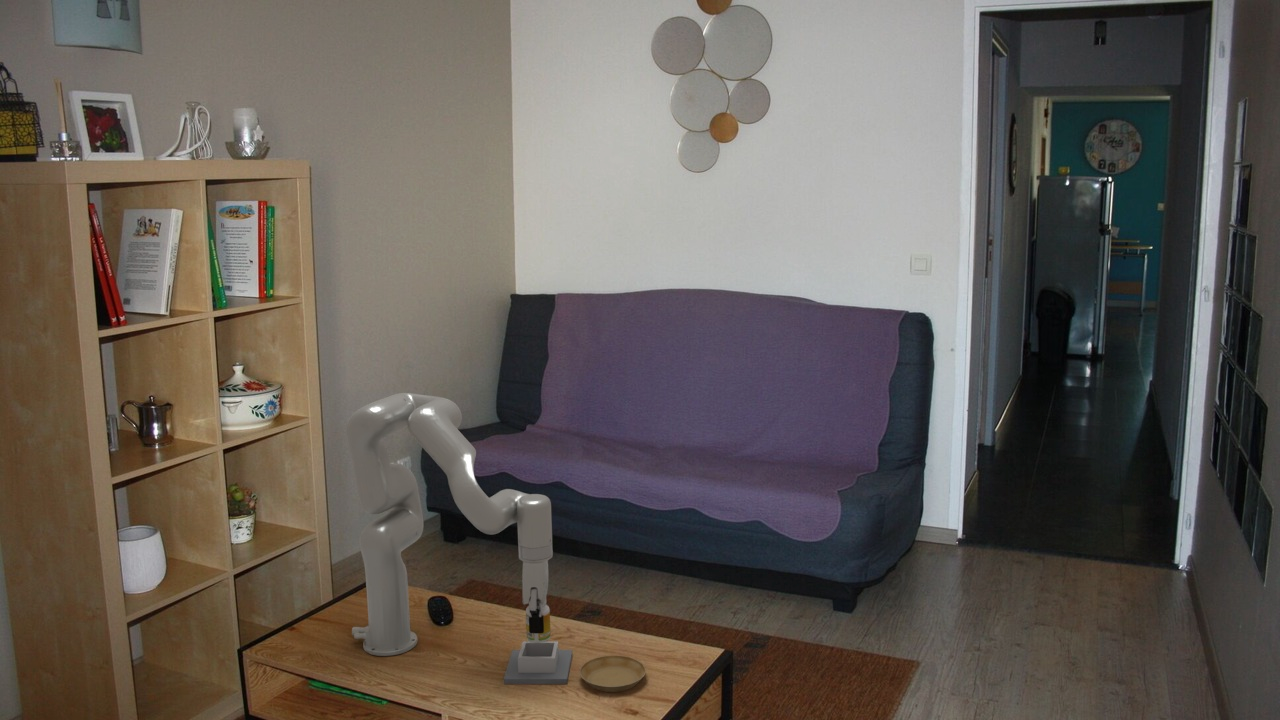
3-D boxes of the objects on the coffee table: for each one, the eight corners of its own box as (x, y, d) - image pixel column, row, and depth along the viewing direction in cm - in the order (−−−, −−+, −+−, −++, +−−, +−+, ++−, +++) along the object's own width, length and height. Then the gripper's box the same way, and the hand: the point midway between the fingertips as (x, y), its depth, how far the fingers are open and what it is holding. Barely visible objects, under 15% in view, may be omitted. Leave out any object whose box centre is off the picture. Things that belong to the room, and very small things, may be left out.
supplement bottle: (552, 633, 234) (551, 593, 233) (548, 644, 229) (546, 603, 227) (529, 632, 235) (527, 592, 233) (524, 643, 230) (522, 602, 228)
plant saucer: (582, 665, 236) (582, 654, 235) (646, 665, 235) (646, 654, 235) (576, 697, 221) (576, 686, 221) (645, 698, 221) (645, 686, 220)
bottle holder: (503, 684, 227) (503, 664, 226) (512, 654, 240) (512, 635, 240) (567, 684, 226) (566, 664, 226) (572, 654, 240) (571, 635, 239)
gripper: (523, 536, 237) (526, 610, 240) (513, 565, 220) (516, 644, 223) (556, 536, 237) (558, 610, 240) (548, 564, 220) (550, 643, 223)
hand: (538, 625), depth 231 cm, fingers closed on supplement bottle, 5 cm apart
